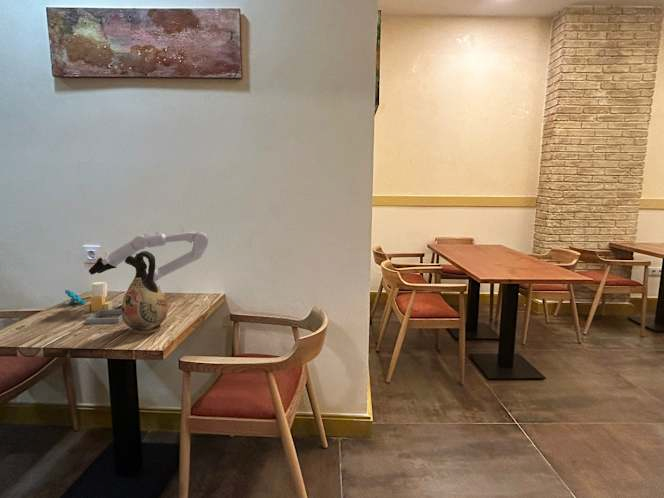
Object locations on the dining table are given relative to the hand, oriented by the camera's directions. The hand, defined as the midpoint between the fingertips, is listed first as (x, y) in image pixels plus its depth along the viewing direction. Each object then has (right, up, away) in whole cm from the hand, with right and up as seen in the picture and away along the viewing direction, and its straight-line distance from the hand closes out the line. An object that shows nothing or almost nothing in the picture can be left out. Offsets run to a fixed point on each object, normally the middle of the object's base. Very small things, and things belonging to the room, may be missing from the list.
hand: (93, 272), depth 172 cm
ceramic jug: (+34, -20, -24) cm, 46 cm away
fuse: (+3, -16, -2) cm, 16 cm away
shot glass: (-10, -13, +22) cm, 27 cm away
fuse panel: (+3, -17, -2) cm, 17 cm away
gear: (-12, -16, +7) cm, 21 cm away
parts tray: (+14, -18, -12) cm, 26 cm away
